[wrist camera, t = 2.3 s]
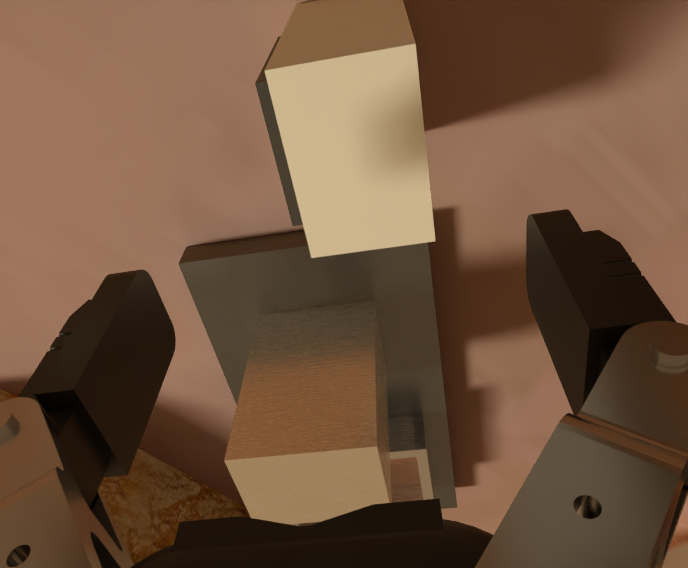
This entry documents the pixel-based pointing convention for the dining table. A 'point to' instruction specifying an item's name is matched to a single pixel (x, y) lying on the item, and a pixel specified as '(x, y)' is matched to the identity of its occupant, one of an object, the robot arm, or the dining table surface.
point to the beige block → (349, 126)
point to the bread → (157, 502)
